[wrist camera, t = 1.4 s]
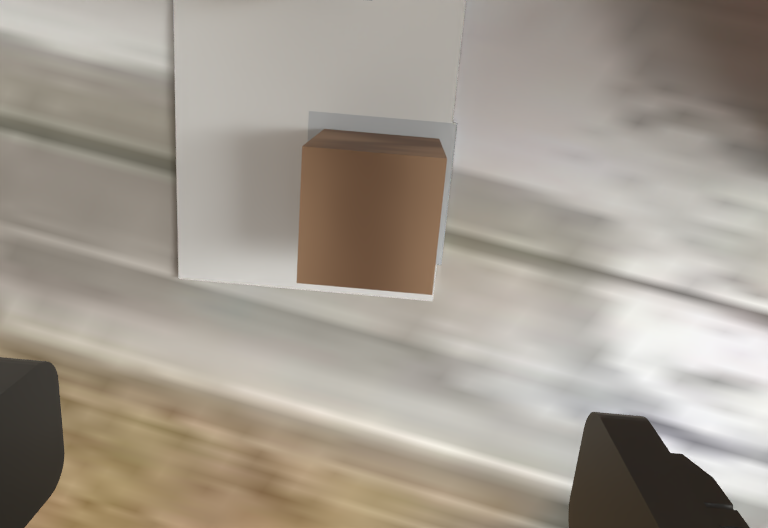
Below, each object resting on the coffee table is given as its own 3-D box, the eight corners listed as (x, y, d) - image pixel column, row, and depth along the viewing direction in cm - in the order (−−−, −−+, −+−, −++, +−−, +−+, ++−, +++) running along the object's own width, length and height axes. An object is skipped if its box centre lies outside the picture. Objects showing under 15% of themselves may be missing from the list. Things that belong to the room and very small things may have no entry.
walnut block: (439, 138, 28) (447, 158, 22) (427, 249, 29) (432, 295, 23) (324, 128, 28) (301, 146, 22) (318, 239, 29) (296, 283, 23)
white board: (499, -258, 24) (500, -263, 23) (436, 298, 30) (437, 301, 30) (166, -284, 24) (162, -289, 23) (177, 275, 30) (174, 278, 30)
